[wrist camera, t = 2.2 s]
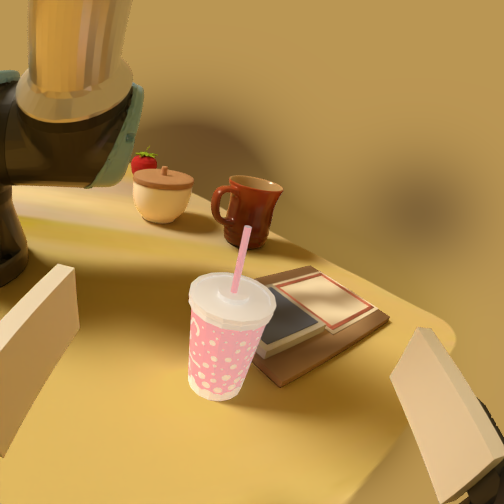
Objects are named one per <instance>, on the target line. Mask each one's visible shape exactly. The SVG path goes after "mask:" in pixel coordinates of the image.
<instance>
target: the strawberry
mask: <svg viewBox="0 0 504 504" xmlns="http://www.w3.org/2000/svg"><path fill="white" fill-rule="evenodd" d="M136 154H138V155H139V156H136V157H134V158H133V160H132V162H131V168H132V173H133V175H134V173H135V172H136V171H139V170H143V169H156V168H157V162H156V160H155V159H154V158H155V157H154V155H156V154H152V153H151V154H149V153H146V152H140V153H136ZM153 157H154V158H153Z"/></svg>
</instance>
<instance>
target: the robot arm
mask: <svg viewBox="0 0 504 504" xmlns="http://www.w3.org/2000/svg"><path fill="white" fill-rule="evenodd" d="M132 1H133V0H28V62H29V63H28V64H29V68H28V69H27V70H26V71H25V72H24V74H23V75H22V76H21V78H20V74H19V72H18V71H14V70H4V71H0V287H1V286H3V285H5V284H6V283H8V282H10V281H11V280H13V279H14V278H15V277H17V276H18V275H19V274H20V273H21V272H22V271H23V270H24V268H25V267H26V265H27V262H28V248H27V240H26V237H25V234H24V232H23V229H22V227H21V224H20V222H19V219H18V216H17V213H16V211H15V208H14V205H13V201H12V185H15V186H17V185H30V186H57V187H79V188H84V189H90V188H92V187H111V186H114V185H116V184H118V183H119V182H120V181H121V180H122V178H123V177H124V175H125V172H126V170H127V167H128V164H129V161H130V158H131V154H132V150H133V146H134V141H135V139H134V137H135V136H136V132H137V129H138V126H139V121H140V117H141V112H142V107H143V99H144V90H143V88H142V87H141V86H139V85H136V84H135V83H132V82H133V74H132V70H131V68H130V66H129V64H128V63H127V62H126V61H125V60H124V59H123V58H121V53H122V47H123V42H124V37H125V32H126V27H127V22H128V18H129V13H130V9H131V5H132ZM79 329H80V323H79V314H78V304H77V293H76V279H75V268H73V267H69V266H65V265H61V264H57V265H56V266H55V267H54V268H53V269H52V270H50V271H49V272H48V273H47V274H46V275H45V276H44V277H43V278H42V279H41V280H40V281H39V282H38V283H37V284H36V285H35V286H34V287H33V288H32V289H31V290H30V291H29V292H28V293H27V294H26V295H25V296H24V297H23V298H22V299H21V300H20V301H19V302H18V303H17V304H16V305H15V306H14V307H13V308H12V309H11V310H10V311H9V312H8V313H7V314H6V315H5V316H4V317H3V318H2V319H1V321H0V457H2V458H4V456H5V454H6V452H7V450H8V449H9V447H10V445H11V443H12V441H13V439H14V437H15V435H16V433H17V431H18V429H19V428H20V426H21V424H22V422H23V420H24V418H25V417H26V415H27V413H28V411H29V410H30V408H31V406H32V404H33V403H34V401H35V399H36V397H37V396H38V394H39V392H40V391H41V389H42V387H43V386H44V384H45V382H46V381H47V379H48V377H49V376H50V374H51V372H52V371H53V369H54V368H55V366H56V364H57V363H58V361H59V360H60V358H61V356H62V355H63V353H64V352H65V350H66V349H67V347H68V346H69V344H70V343H71V341H72V340H73V338H74V336H75V335H76V333H77V332H78V330H79ZM389 378H390V380H391V382H392V384H393V387H394V389H395V391H396V394H397V396H398V398H399V401H400V403H401V405H402V408H403V410H404V412H405V415H406V417H407V420H408V422H409V425H410V427H411V429H412V432H413V434H414V437H415V439H416V442H417V445H418V447H419V450H420V452H421V455H422V457H423V460H424V462H425V465H426V468H427V471H428V473H429V476H430V479H431V482H432V484H433V487H434V490H435V493H436V496H437V499H438V502H439V504H445V503H448V502H451V501H454V500H456V499H458V498H459V497H460V496H462V495H463V494H464V493H465V492H467V493H468V495H469V497H467V498H466V499H465V500H464V501H462V502H461V503H459V504H504V437H503V435H502V434H501V432H500V430H499V428H498V426H496V423H495V421H494V419H493V418H491V414H490V413H489V411H488V409H487V408H486V406H485V405H484V404H483V403H482V402H481V401H480V400H479V399H478V398H477V397H476V396H475V394H474V393H473V391H472V389H471V388H470V386H469V385H468V383H467V381H466V380H465V378H464V377H463V375H462V374H461V372H460V371H459V369H458V367H457V366H456V364H455V363H454V362H453V360H452V358H451V357H450V355H449V354H448V352H447V351H446V349H445V348H444V346H443V345H442V343H441V342H440V341H439V339H438V338H437V336H436V335H435V333H434V332H433V330H432V329H431V328H422V327H417V328H416V330H415V332H414V334H413V336H412V338H411V339H410V341H409V343H408V345H407V347H406V349H405V350H404V352H403V354H402V356H401V358H400V359H399V361H398V363H397V365H396V366H395V368H394V370H393V371H392V373H391V375H390V376H389Z"/></svg>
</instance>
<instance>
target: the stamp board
mask: <svg viewBox="0 0 504 504" xmlns="http://www.w3.org/2000/svg"><path fill="white" fill-rule="evenodd" d="M254 280H256V281H258V282H260V283H261V284H263V285H264V286H266V287H267V288H268V289H269V290H270V291H271V292H272V294H273V295H274V296H275V301H276V309H275V310H274V312H273V316H272V318H271V319H270V321H269V323H268V324H266V326H265V328H264V331H263V333H262V336H261V339H260V341H259V344H258V346H257V349H256V352H255V354H254V357H253V359H252V362H253V363H254V364H255V365H256V366H257V367H258V368H259V369H260V370H261V371H262V372H264V373H265V374H266V375H267V376H268V377H269V378H270V379H271V380H272V381H273V382H274V383H275V384H276V385H277V386H278V387H280V388H281V387H282V386H284V385H286V384H288V383H290V382H292V381H293V380H295V379H297V378H299V377H300V376H302V375H304V374H306V373H307V372H309V371H311V370H313V369H314V368H316V367H318V366H319V365H321V364H323V363H324V362H326V361H328V360H329V359H331V358H333V357H334V356H336V355H338V354H339V353H341V352H342V351H344V350H346V349H347V348H349V347H350V346H352V345H353V344H355V343H356V342H358V341H360V340H361V339H363V338H364V337H366V336H367V335H369V334H370V333H372V332H373V331H375V330H376V329H378V328H379V327H380V326H382V325H383V324H385V323H386V322H388V320H389V318H390V317H389V316H388V315H386V314H385V313H383V312H382V311H380V310H379V309H378V308H377V307H375V306H374V305H372V304H371V303H369V302H368V301H366V300H364V299H363V298H361V297H360V296H358V295H357V294H355V293H354V292H352V291H350V290H349V289H347V288H346V287H344V286H343V285H341V284H340V283H338V282H336V281H335V280H333V279H332V278H330V277H329V276H327V275H325V274H324V273H322V272H321V271H318V270H316V269H315V268H313V267H312V266H306V267H302V268H298V269H294V270H289V271H285V272H281V273H277V274H273V275H268V276H264V277H260V278H256V279H254Z"/></svg>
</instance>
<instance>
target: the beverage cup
mask: <svg viewBox="0 0 504 504" xmlns="http://www.w3.org/2000/svg"><path fill="white" fill-rule="evenodd" d="M251 229H252V227H251V226H248V225H245V226H244V230H243V235H242V240H241V244H240V249H239V254H238V258H237V263H236V268H235V272H234V273H228V272H216V273H209V274H205V275H202V276H199V277H198V278H196V279H195V280H194V281H193V282H192V283H191V286H190V291H189V301H188V302H189V304H190V306H191V325H190V345H189V370H188V381H189V384H190V386H191V388H192V389H193V390H194V391H195V392H196V393H197V394H198V395H199V396H201V397H203V398H206V399H208V400H214V401H223V400H229V399H231V398H233V397H234V396H236V395H237V394H238V392H239V391H240V389H241V387H242V385H243V382H244V380H245V377H246V374H247V372H248V369H249V367H250V364H251V362H252V359H253V357H254V354H255V352H256V349H257V346H258V344H259V341H260V339H261V336H262V333H263V331H264V328H265V326H266V324H268V323H269V321H270V319H271V318H272V316H273V312H274V310H275V309H276V301H275V296H274V295H273V294H272V292H271V291H270V290H269V289H268V288H267V287H266V286H264V285H263V284H261V283H260V282H258V281H256V280H254V279H251V278H249V277H246V276H243V275H241V274H242V269H243V265H244V260H245V256H246V251H247V247H248V242H249V238H250V233H251Z"/></svg>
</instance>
